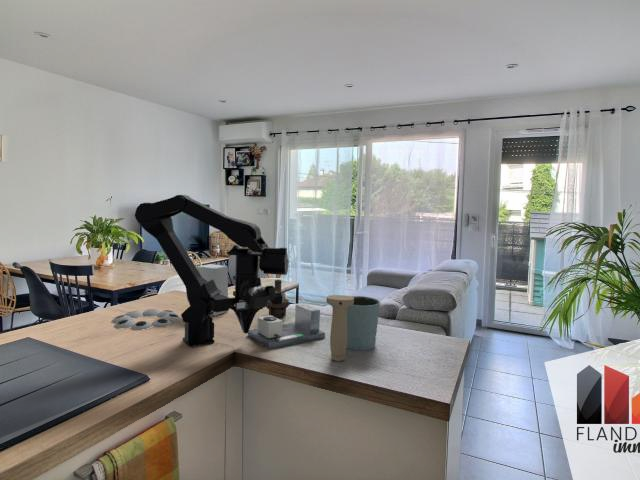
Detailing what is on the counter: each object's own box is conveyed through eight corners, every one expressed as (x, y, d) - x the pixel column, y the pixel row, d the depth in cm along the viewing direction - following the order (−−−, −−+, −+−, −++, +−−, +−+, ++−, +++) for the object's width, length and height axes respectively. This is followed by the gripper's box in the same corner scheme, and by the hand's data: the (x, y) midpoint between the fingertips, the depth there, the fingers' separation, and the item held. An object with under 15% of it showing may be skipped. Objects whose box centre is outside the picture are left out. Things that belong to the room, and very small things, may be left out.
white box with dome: (272, 341, 99) (273, 324, 99) (257, 331, 106) (258, 316, 106) (291, 337, 103) (291, 321, 102) (275, 328, 109) (276, 313, 109)
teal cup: (380, 341, 107) (382, 298, 106) (375, 354, 98) (377, 306, 97) (343, 336, 110) (345, 294, 109) (335, 348, 100) (337, 302, 99)
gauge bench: (268, 349, 98) (269, 320, 98) (247, 335, 108) (248, 308, 107) (324, 337, 108) (325, 311, 108) (301, 326, 118) (301, 301, 117)
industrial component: (289, 313, 132) (290, 278, 131) (289, 319, 125) (290, 282, 124) (261, 313, 131) (261, 277, 130) (259, 319, 124) (260, 281, 123)
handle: (351, 364, 91) (354, 300, 90) (324, 362, 91) (326, 299, 90) (350, 356, 96) (353, 295, 94) (324, 355, 96) (326, 294, 95)
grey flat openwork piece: (194, 320, 122) (194, 314, 121) (134, 336, 105) (134, 329, 105) (156, 309, 132) (156, 303, 132) (97, 322, 116) (96, 316, 116)
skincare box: (228, 312, 130) (229, 266, 129) (213, 316, 125) (214, 268, 123) (211, 308, 135) (211, 263, 133) (195, 312, 129) (196, 265, 128)
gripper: (224, 281, 87) (222, 349, 89) (294, 275, 98) (293, 336, 100) (206, 273, 96) (205, 335, 98) (273, 268, 107) (271, 324, 109)
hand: (245, 332), depth 101 cm, fingers closed
